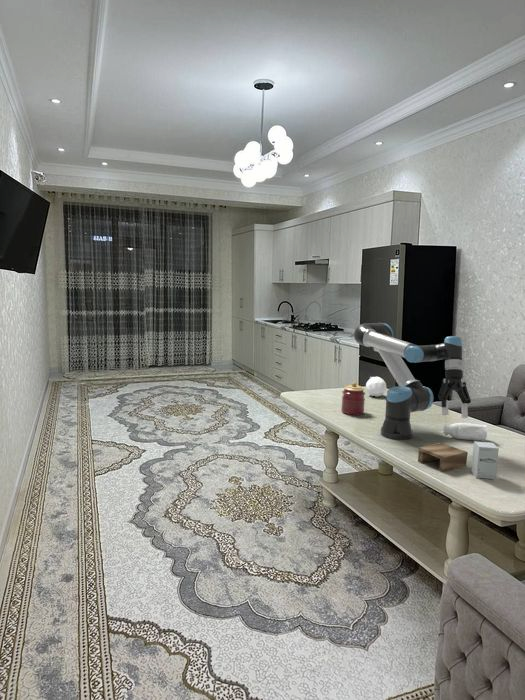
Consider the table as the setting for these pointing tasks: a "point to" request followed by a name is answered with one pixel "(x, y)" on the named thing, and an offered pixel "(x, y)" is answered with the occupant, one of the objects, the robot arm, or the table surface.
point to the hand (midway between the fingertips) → (455, 416)
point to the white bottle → (467, 431)
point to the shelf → (443, 456)
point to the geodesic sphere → (376, 386)
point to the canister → (353, 400)
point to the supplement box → (484, 460)
